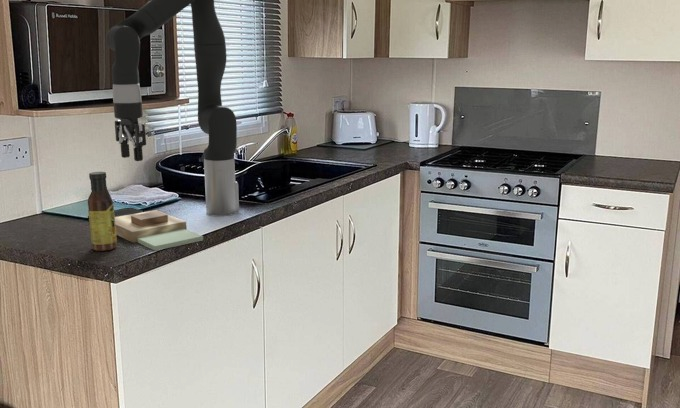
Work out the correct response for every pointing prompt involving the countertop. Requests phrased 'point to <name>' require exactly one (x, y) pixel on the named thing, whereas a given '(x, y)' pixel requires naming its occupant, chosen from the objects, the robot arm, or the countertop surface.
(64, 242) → the countertop surface
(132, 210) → the phone
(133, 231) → the butcher block
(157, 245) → the sage mat
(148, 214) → the brown wooden block
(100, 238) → the sauce bottle
